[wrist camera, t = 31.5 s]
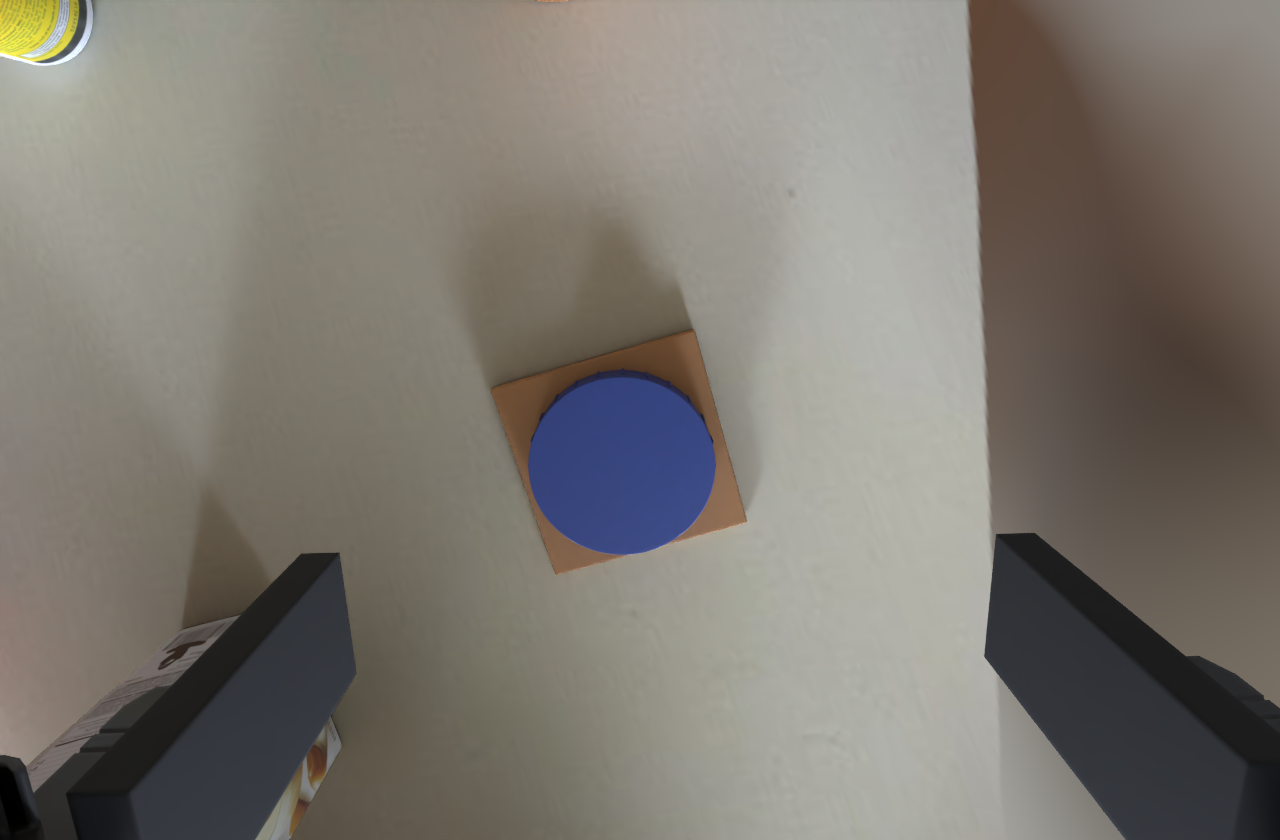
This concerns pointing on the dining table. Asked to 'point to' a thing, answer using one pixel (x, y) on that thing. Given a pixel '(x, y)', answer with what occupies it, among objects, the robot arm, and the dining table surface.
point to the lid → (621, 462)
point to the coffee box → (166, 672)
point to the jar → (551, 0)
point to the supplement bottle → (44, 29)
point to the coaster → (659, 357)
